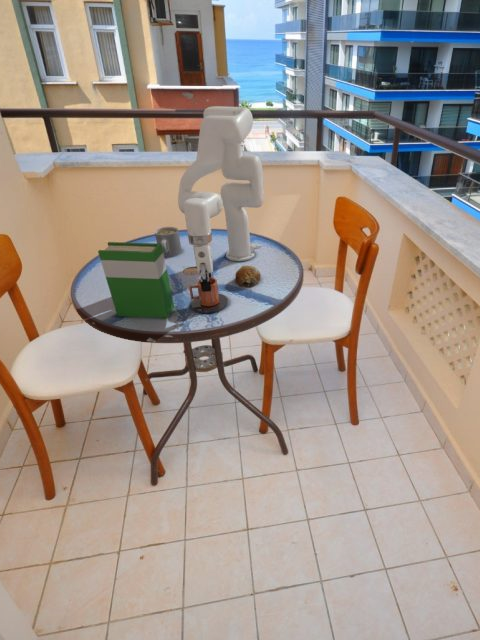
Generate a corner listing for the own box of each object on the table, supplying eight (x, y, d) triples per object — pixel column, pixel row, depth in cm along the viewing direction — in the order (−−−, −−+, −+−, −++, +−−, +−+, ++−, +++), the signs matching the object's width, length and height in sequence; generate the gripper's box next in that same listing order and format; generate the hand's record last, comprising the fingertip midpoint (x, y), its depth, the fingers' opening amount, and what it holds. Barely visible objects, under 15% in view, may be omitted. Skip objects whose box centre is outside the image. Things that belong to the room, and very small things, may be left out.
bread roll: (263, 287, 167) (265, 267, 166) (253, 288, 157) (255, 267, 156) (241, 283, 170) (243, 264, 168) (229, 284, 160) (232, 263, 159)
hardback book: (117, 315, 143) (97, 251, 129) (126, 304, 149) (108, 242, 135) (167, 318, 142) (153, 253, 128) (174, 306, 148) (161, 243, 134)
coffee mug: (165, 246, 191) (161, 226, 186) (185, 248, 190) (181, 227, 184) (151, 258, 181) (146, 237, 175) (172, 260, 179) (168, 239, 173)
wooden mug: (219, 295, 152) (216, 276, 148) (219, 305, 147) (216, 285, 142) (192, 298, 151) (188, 278, 146) (191, 307, 145) (187, 287, 141)
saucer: (220, 291, 157) (220, 289, 157) (233, 307, 148) (233, 305, 147) (187, 300, 152) (186, 298, 151) (198, 317, 142) (198, 315, 142)
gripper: (211, 247, 129) (217, 295, 138) (212, 228, 143) (217, 273, 152) (187, 248, 128) (195, 297, 137) (189, 229, 142) (196, 274, 151)
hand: (206, 284), depth 145 cm, fingers open, 9 cm apart
